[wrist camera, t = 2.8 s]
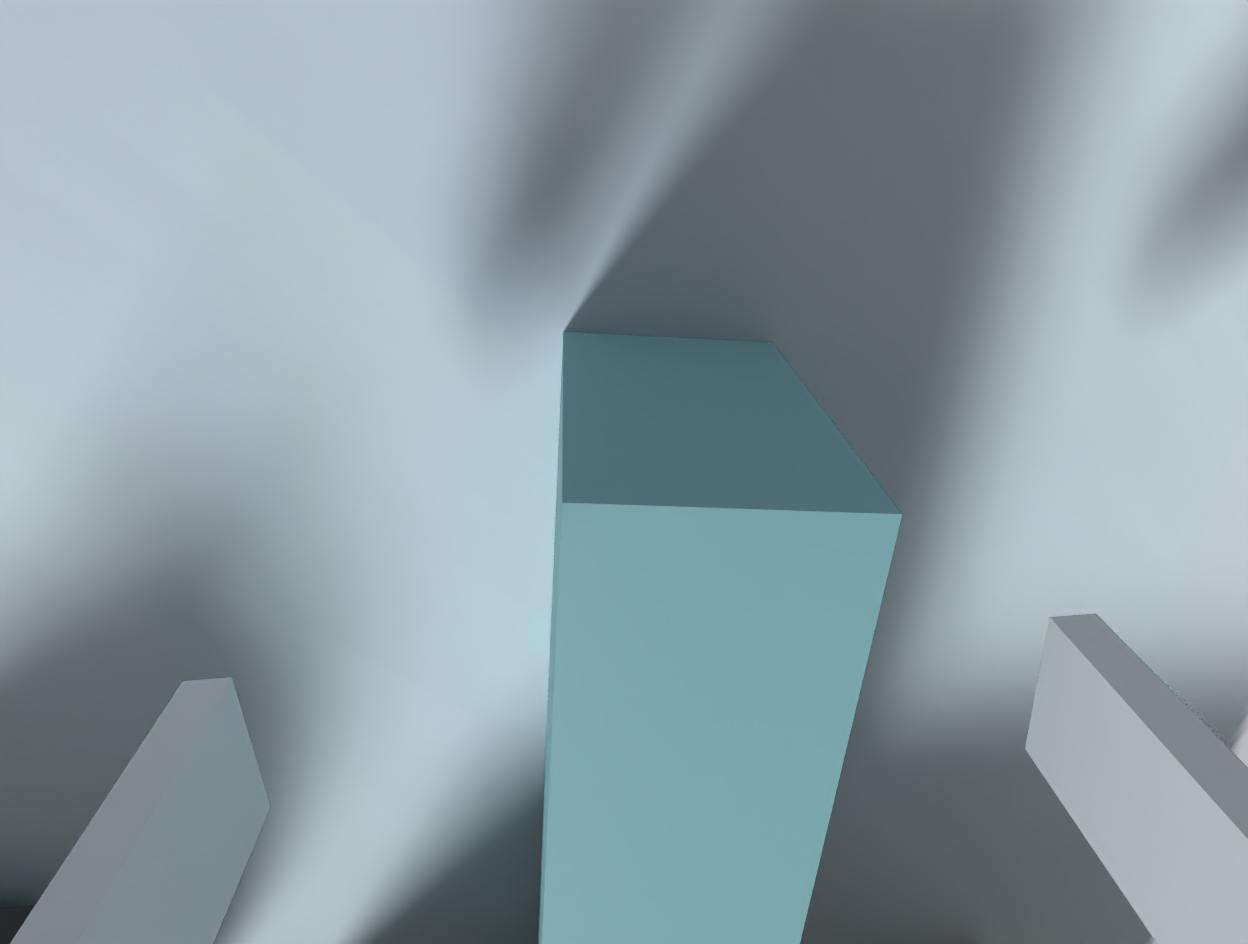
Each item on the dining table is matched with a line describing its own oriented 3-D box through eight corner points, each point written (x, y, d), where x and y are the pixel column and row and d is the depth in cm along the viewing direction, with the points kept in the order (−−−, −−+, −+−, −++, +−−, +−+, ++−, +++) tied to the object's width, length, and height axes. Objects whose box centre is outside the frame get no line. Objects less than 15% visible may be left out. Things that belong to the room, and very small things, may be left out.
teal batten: (563, 329, 18) (562, 502, 11) (770, 339, 18) (902, 514, 11) (534, 1012, 28) (524, 1342, 21) (670, 1010, 28) (706, 1333, 21)
